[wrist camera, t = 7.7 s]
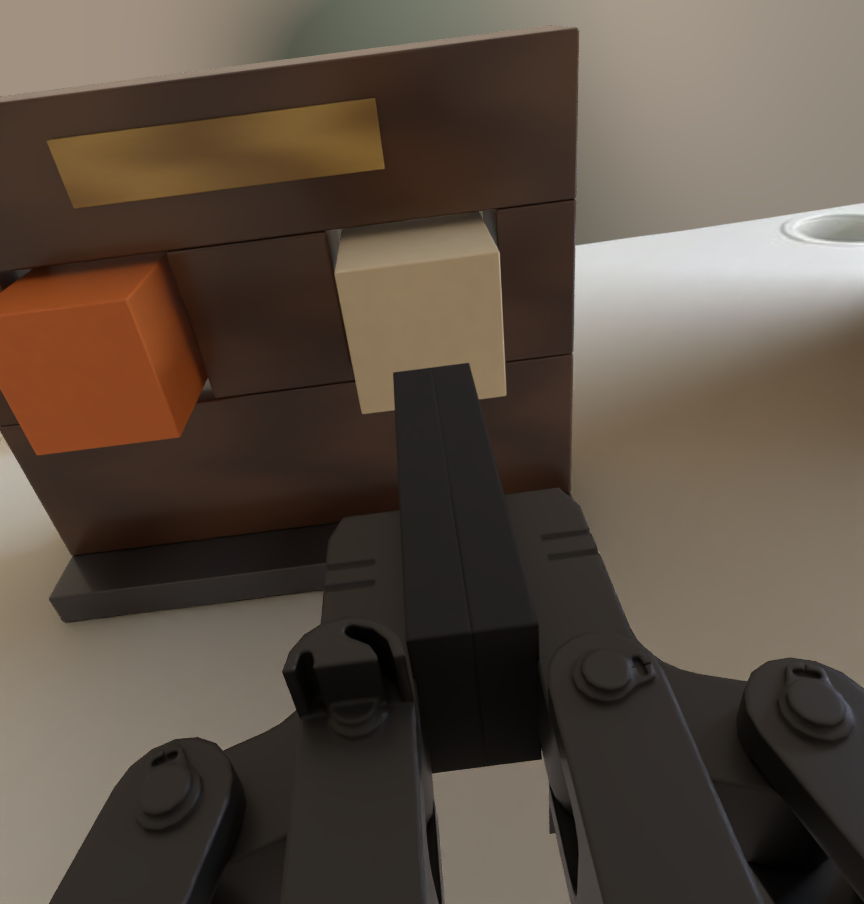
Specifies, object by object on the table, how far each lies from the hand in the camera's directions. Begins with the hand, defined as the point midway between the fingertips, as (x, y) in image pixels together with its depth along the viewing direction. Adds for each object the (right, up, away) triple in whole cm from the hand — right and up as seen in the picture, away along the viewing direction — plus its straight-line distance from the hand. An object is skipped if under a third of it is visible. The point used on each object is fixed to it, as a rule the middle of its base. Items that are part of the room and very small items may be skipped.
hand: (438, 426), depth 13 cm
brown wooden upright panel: (-4, -3, +12) cm, 13 cm away
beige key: (0, +2, +6) cm, 6 cm away
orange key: (-9, +1, +6) cm, 11 cm away
